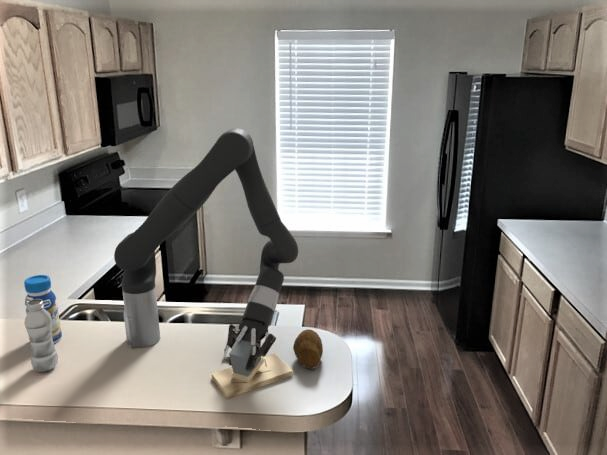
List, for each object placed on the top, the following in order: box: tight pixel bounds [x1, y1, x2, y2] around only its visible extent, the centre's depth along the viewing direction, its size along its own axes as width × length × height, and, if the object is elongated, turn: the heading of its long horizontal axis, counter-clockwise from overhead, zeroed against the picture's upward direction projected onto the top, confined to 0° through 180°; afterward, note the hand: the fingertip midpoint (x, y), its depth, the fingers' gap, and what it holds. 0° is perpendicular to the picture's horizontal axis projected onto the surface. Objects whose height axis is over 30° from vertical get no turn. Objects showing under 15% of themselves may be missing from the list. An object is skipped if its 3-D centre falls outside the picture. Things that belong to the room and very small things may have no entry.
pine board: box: [211, 352, 294, 400], centre depth 136 cm, size 19×10×2 cm, turn 122°
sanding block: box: [228, 340, 264, 383], centre depth 133 cm, size 8×5×8 cm, turn 153°
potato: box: [292, 328, 324, 369], centre depth 142 cm, size 8×12×9 cm
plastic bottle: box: [24, 299, 59, 373], centre depth 136 cm, size 6×7×20 cm
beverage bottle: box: [23, 274, 63, 344], centre depth 150 cm, size 8×8×20 cm
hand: (239, 367), depth 131 cm, fingers closed on sanding block, 4 cm apart
